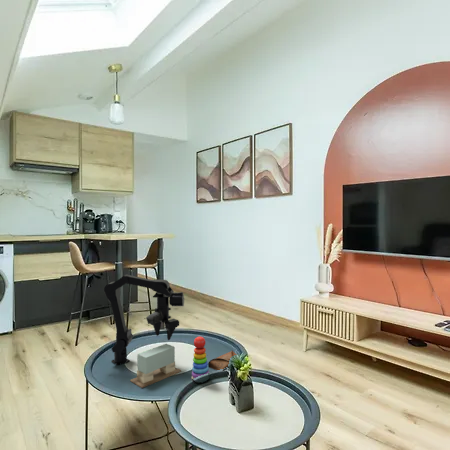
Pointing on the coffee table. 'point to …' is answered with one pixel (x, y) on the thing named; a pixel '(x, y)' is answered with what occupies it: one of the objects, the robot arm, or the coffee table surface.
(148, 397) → the coffee table surface
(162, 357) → the lintel
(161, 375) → the bridge base
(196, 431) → the coffee table surface
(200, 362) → the stacking toy
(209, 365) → the sunglasses case
